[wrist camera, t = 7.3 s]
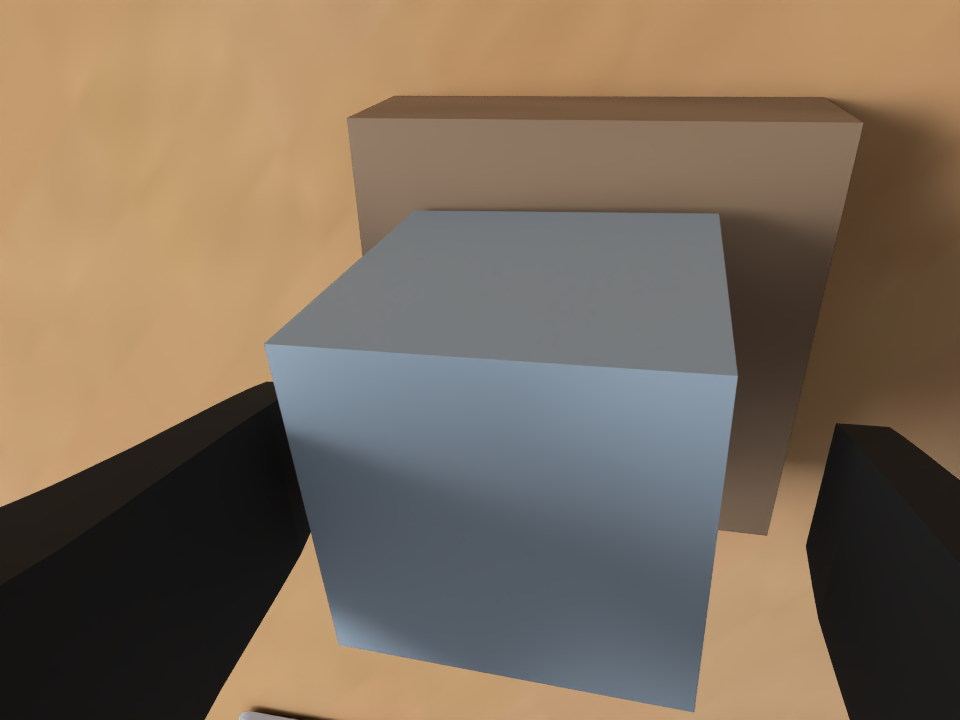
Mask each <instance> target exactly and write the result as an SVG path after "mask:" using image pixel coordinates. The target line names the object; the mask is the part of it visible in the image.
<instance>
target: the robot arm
mask: <svg viewBox="0 0 960 720" xmlns="http://www.w3.org/2000/svg"><path fill="white" fill-rule="evenodd" d="M310 532H311V530H310V526H309V522H308V518H307V514H306V510H305V506H304V502H303V498H302V494H301V490H300V486H299V482H298V478H297V474H296V470H295V466H294V462H293V458H292V454H291V450H290V446H289V442H288V438H287V434H286V430H285V426H284V422H283V418H282V414H281V410H280V406H279V402H278V398H277V394H276V390H275V386H274V382H265V383H262V384H260V385H257V386H254V387H252V388H250V389H247V390H245V391H243V392H241V393H239V394H237V395H234V396H232V397H230V398H228V399H226V400H224V401H222V402H220V403H218V404H216V405H214V406H212V407H210V408H208V409H206V410H204V411H202V412H200V413H198V414H197V415H195V416H193V417H191V418H189V419H187V420H185V421H183V422H181V423H179V424H177V425H175V426H173V427H171V428H169V429H167V430H165V431H163V432H161V433H159V434H157V435H156V436H154V437H152V438H150V439H148V440H146V441H144V442H142V443H140V444H138V445H136V446H134V447H132V448H130V449H128V450H126V451H124V452H121V453H119V454H117V455H115V456H113V457H111V458H109V459H107V460H105V461H103V462H100V463H98V464H96V465H94V466H92V467H90V468H88V469H86V470H84V471H81V472H79V473H77V474H75V475H73V476H71V477H69V478H67V479H65V480H63V481H60V482H58V483H56V484H54V485H52V486H49V487H47V488H45V489H43V490H40V491H38V492H36V493H33V494H31V495H29V496H26V497H24V498H22V499H19V500H17V501H14V502H12V503H10V504H7V505H5V506H2V507H0V720H205V718H206V716H207V714H208V713H209V711H210V709H211V707H212V705H213V703H214V702H215V700H216V698H217V696H218V694H219V692H220V691H221V689H222V687H223V685H224V684H225V682H226V680H227V679H228V677H229V675H230V674H231V672H232V670H233V669H234V667H235V665H236V664H237V662H238V660H239V659H240V657H241V655H242V653H243V652H244V650H245V648H246V647H247V645H248V643H249V642H250V640H251V638H252V637H253V635H254V633H255V632H256V630H257V628H258V627H259V625H260V623H261V622H262V620H263V618H264V617H265V615H266V613H267V612H268V610H269V608H270V607H271V605H272V603H273V602H274V600H275V598H276V596H277V595H278V593H279V591H280V590H281V588H282V586H283V584H284V583H285V581H286V579H287V578H288V576H289V574H290V572H291V571H292V569H293V567H294V565H295V564H296V562H297V560H298V558H299V557H300V555H301V553H302V551H303V548H304V546H305V544H306V542H307V539H308V537H309V535H310ZM806 550H807V556H808V562H809V569H810V575H811V581H812V587H813V592H814V598H815V603H816V609H817V614H818V619H819V622H820V626H821V629H822V633H823V636H824V639H825V642H826V646H827V649H828V652H829V655H830V659H831V662H832V665H833V668H834V671H835V675H836V678H837V681H838V684H839V687H840V691H841V694H842V697H843V700H844V703H845V706H846V709H847V713H848V716H849V719H850V720H960V480H959V479H957V478H956V477H955V476H954V475H952V474H951V473H950V472H949V471H947V470H946V469H945V468H943V467H942V466H941V465H940V464H938V463H937V462H936V461H935V460H933V459H932V458H931V457H929V456H928V455H927V454H926V453H924V452H923V451H922V450H920V449H919V448H918V447H917V446H915V445H914V444H913V443H911V442H910V441H909V440H907V439H906V438H904V437H903V436H902V435H900V434H899V433H897V432H896V431H894V430H893V429H891V428H890V427H880V426H866V425H853V424H839V423H836V426H835V430H834V434H833V438H832V442H831V446H830V450H829V454H828V458H827V463H826V467H825V471H824V475H823V479H822V483H821V487H820V491H819V495H818V499H817V503H816V507H815V511H814V515H813V519H812V523H811V527H810V531H809V535H808V539H807V544H806ZM238 720H297V719H291V718H285V717H280V716H274V715H269V714H263V713H257V712H252V711H246V712H243V713H242V714H241V715H240V717H239V719H238Z"/></svg>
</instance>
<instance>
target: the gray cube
mask: <svg viewBox="0 0 960 720" xmlns="http://www.w3.org/2000/svg"><path fill="white" fill-rule="evenodd" d="M264 346H265V350H266V354H267V358H268V362H269V366H270V370H271V374H272V378H273V382H274V386H275V390H276V394H277V398H278V402H279V406H280V410H281V414H282V418H283V422H284V426H285V430H286V434H287V438H288V442H289V446H290V450H291V454H292V458H293V462H294V466H295V470H296V474H297V478H298V482H299V486H300V490H301V494H302V498H303V502H304V506H305V510H306V514H307V518H308V522H309V526H310V530H311V534H312V538H313V543H314V547H315V551H316V555H317V559H318V563H319V567H320V571H321V575H322V579H323V583H324V587H325V591H326V595H327V599H328V603H329V607H330V611H331V615H332V619H333V623H334V627H335V631H336V635H337V639H338V643H339V645H342V646H347V647H353V648H358V649H363V650H369V651H374V652H379V653H384V654H390V655H395V656H400V657H405V658H411V659H416V660H421V661H426V662H432V663H437V664H442V665H447V666H453V667H458V668H463V669H468V670H474V671H479V672H484V673H490V674H495V675H500V676H505V677H511V678H516V679H521V680H526V681H532V682H537V683H542V684H547V685H553V686H558V687H563V688H568V689H574V690H579V691H584V692H589V693H595V694H600V695H605V696H611V697H616V698H621V699H626V700H632V701H637V702H642V703H647V704H653V705H658V706H663V707H668V708H674V709H679V710H684V711H689V712H694V710H695V702H696V694H697V687H698V679H699V671H700V664H701V656H702V648H703V641H704V633H705V625H706V617H707V610H708V602H709V594H710V587H711V579H712V571H713V563H714V556H715V548H716V540H717V533H718V525H719V517H720V510H721V502H722V494H723V486H724V479H725V471H726V463H727V456H728V448H729V440H730V432H731V425H732V417H733V409H734V402H735V394H736V386H737V378H738V373H737V365H736V356H735V347H734V339H733V330H732V322H731V313H730V304H729V296H728V287H727V278H726V270H725V261H724V253H723V244H722V235H721V227H720V218H719V214H710V213H611V212H512V211H413V212H412V213H411V214H410V215H409V216H408V217H407V218H406V219H404V220H403V221H402V222H401V223H400V224H399V225H398V226H397V227H395V228H394V229H393V230H392V231H391V232H390V233H389V234H387V235H386V236H385V237H384V238H383V239H382V240H381V241H380V242H378V243H377V244H376V245H375V246H374V247H373V248H372V249H371V250H369V251H368V252H367V253H366V254H365V255H364V256H363V257H362V258H360V259H359V260H358V261H357V262H356V263H355V264H354V265H352V266H351V267H350V268H349V269H348V270H347V271H346V272H345V273H343V274H342V275H341V276H340V277H339V278H338V279H337V280H336V281H334V282H333V283H332V284H331V285H330V286H329V287H328V288H327V289H325V290H324V291H323V292H322V293H321V294H320V295H319V296H318V297H316V298H315V299H314V300H313V301H312V302H311V303H310V304H308V305H307V306H306V307H305V308H304V309H303V310H302V311H301V312H299V313H298V314H297V315H296V316H295V317H294V318H293V319H292V320H290V321H289V322H288V323H287V324H286V325H285V326H284V327H283V328H281V329H280V330H279V331H278V332H277V333H276V334H275V335H273V336H272V337H271V338H270V339H269V340H268V341H267V342H266V343H264Z"/></svg>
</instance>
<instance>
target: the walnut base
mask: <svg viewBox="0 0 960 720" xmlns="http://www.w3.org/2000/svg"><path fill="white" fill-rule="evenodd" d="M347 123H348V132H349V140H350V149H351V158H352V167H353V176H354V185H355V193H356V202H357V211H358V220H359V229H360V238H361V246H362V255H363V256H364V255H365V254H366V253H367V252H368V251H369V250H371V249H372V248H373V247H374V246H375V245H376V244H377V243H378V242H380V241H381V240H382V239H383V238H384V237H385V236H386V235H387V234H389V233H390V232H391V231H392V230H393V229H394V228H395V227H397V226H398V225H399V224H400V223H401V222H402V221H403V220H404V219H406V218H407V217H408V216H409V215H410V214H411V213H412V212H413V211H512V212H611V213H710V214H719V218H720V227H721V235H722V244H723V253H724V261H725V270H726V278H727V287H728V296H729V304H730V313H731V322H732V330H733V339H734V347H735V356H736V365H737V373H738V378H737V386H736V394H735V402H734V409H733V417H732V425H731V432H730V440H729V448H728V456H727V463H726V471H725V479H724V486H723V494H722V502H721V510H720V517H719V525H718V530H722V531H731V532H740V533H748V534H757V535H765V536H767V534H768V530H769V525H770V521H771V517H772V512H773V508H774V504H775V500H776V495H777V491H778V487H779V482H780V478H781V474H782V470H783V465H784V461H785V457H786V452H787V448H788V444H789V440H790V435H791V431H792V427H793V423H794V418H795V414H796V410H797V405H798V401H799V397H800V393H801V388H802V384H803V380H804V375H805V371H806V367H807V363H808V358H809V354H810V350H811V345H812V341H813V337H814V333H815V328H816V324H817V320H818V316H819V311H820V307H821V303H822V298H823V294H824V290H825V286H826V281H827V277H828V273H829V268H830V264H831V260H832V256H833V251H834V247H835V243H836V238H837V234H838V230H839V226H840V221H841V217H842V213H843V209H844V204H845V200H846V196H847V191H848V187H849V183H850V179H851V174H852V170H853V166H854V161H855V157H856V153H857V149H858V144H859V140H860V136H861V131H862V127H863V122H862V121H860V120H859V119H857V118H855V117H854V116H852V115H851V114H849V113H848V112H846V111H845V110H843V109H841V108H840V107H838V106H837V105H835V104H834V103H832V102H831V101H829V100H827V99H826V98H824V97H545V96H393V97H391V98H389V99H386V100H384V101H382V102H380V103H378V104H376V105H374V106H372V107H369V108H367V109H365V110H363V111H361V112H359V113H357V114H354V115H352V116H350V117H348V118H347Z"/></svg>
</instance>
